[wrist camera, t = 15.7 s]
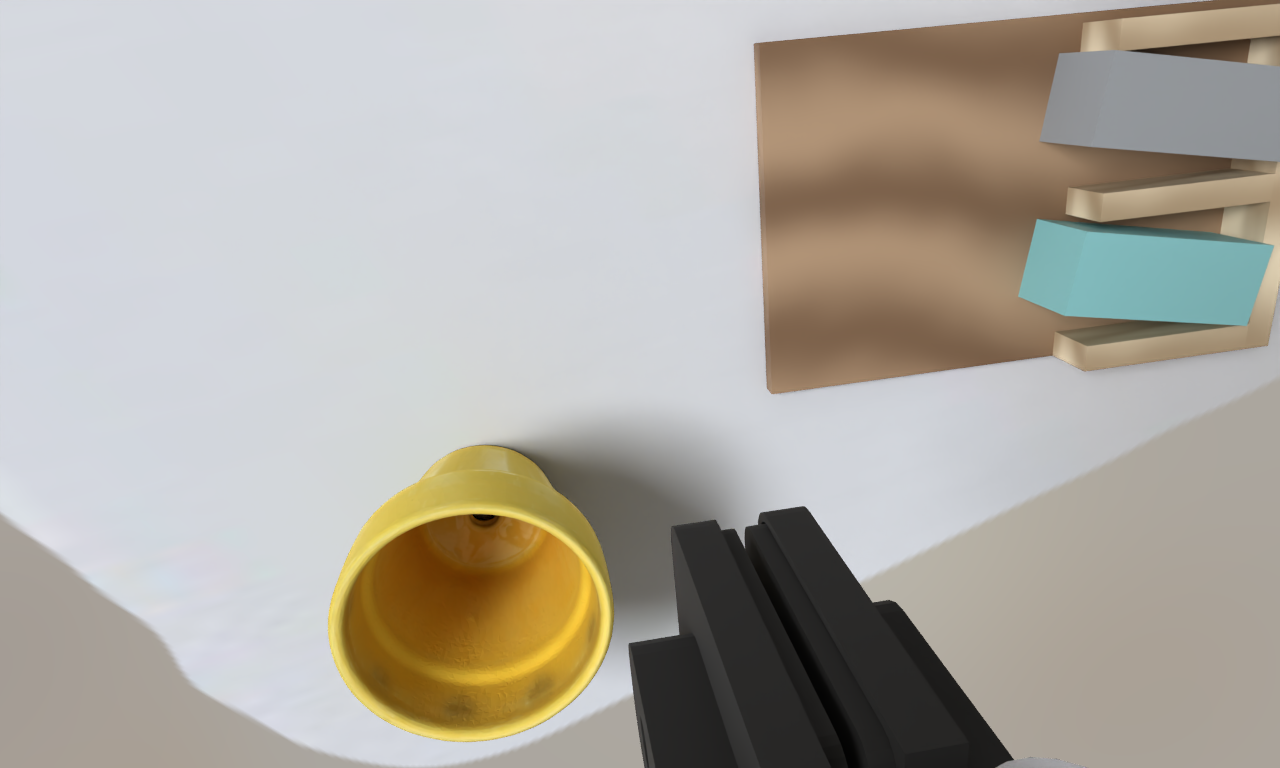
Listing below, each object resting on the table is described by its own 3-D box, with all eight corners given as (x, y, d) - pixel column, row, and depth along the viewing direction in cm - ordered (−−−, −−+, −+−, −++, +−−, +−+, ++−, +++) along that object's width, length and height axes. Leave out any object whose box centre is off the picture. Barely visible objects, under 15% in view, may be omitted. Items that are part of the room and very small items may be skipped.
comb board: (753, 43, 34) (777, 39, 31) (1283, -6, 36) (1352, -15, 33) (766, 388, 39) (787, 413, 36) (1228, 325, 42) (1283, 343, 39)
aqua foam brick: (1037, 218, 37) (1086, 231, 34) (1210, 231, 39) (1274, 245, 36) (1018, 296, 38) (1064, 315, 35) (1187, 306, 40) (1246, 325, 37)
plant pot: (377, 393, 37) (331, 494, 27) (607, 415, 38) (635, 517, 29) (365, 592, 40) (320, 743, 31) (577, 604, 42) (594, 748, 33)
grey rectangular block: (1059, 53, 35) (1115, 49, 32) (1244, 71, 36) (1315, 70, 33) (1039, 141, 36) (1091, 146, 33) (1218, 155, 38) (1285, 162, 34)
